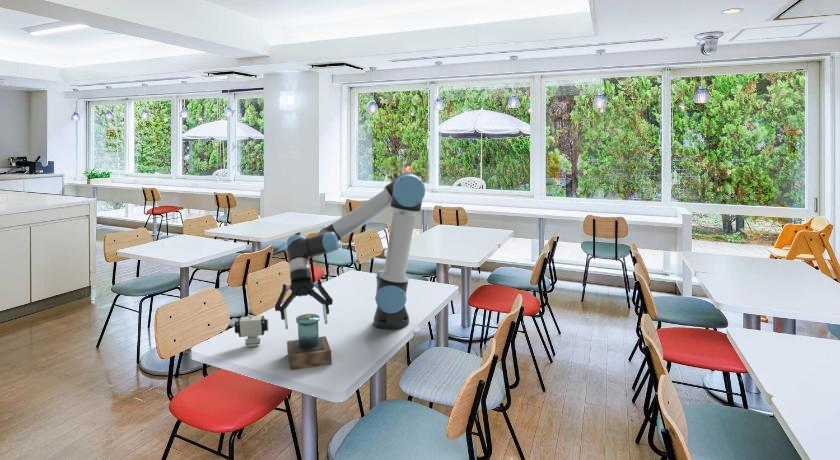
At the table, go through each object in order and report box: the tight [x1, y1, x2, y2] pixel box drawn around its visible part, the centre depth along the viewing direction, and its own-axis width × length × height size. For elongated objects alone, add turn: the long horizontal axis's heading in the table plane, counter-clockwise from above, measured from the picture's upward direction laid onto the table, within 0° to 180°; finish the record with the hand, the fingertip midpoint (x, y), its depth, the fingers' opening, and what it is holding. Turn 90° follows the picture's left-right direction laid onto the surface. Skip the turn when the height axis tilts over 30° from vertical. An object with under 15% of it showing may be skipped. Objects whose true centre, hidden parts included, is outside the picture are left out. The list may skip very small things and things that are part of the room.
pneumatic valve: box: [233, 314, 269, 348], centre depth 189 cm, size 6×12×12 cm, turn 101°
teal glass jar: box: [295, 313, 320, 349], centre depth 175 cm, size 8×8×11 cm
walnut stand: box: [286, 335, 333, 371], centre depth 176 cm, size 14×14×5 cm
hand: (306, 325), depth 173 cm, fingers open, 13 cm apart
